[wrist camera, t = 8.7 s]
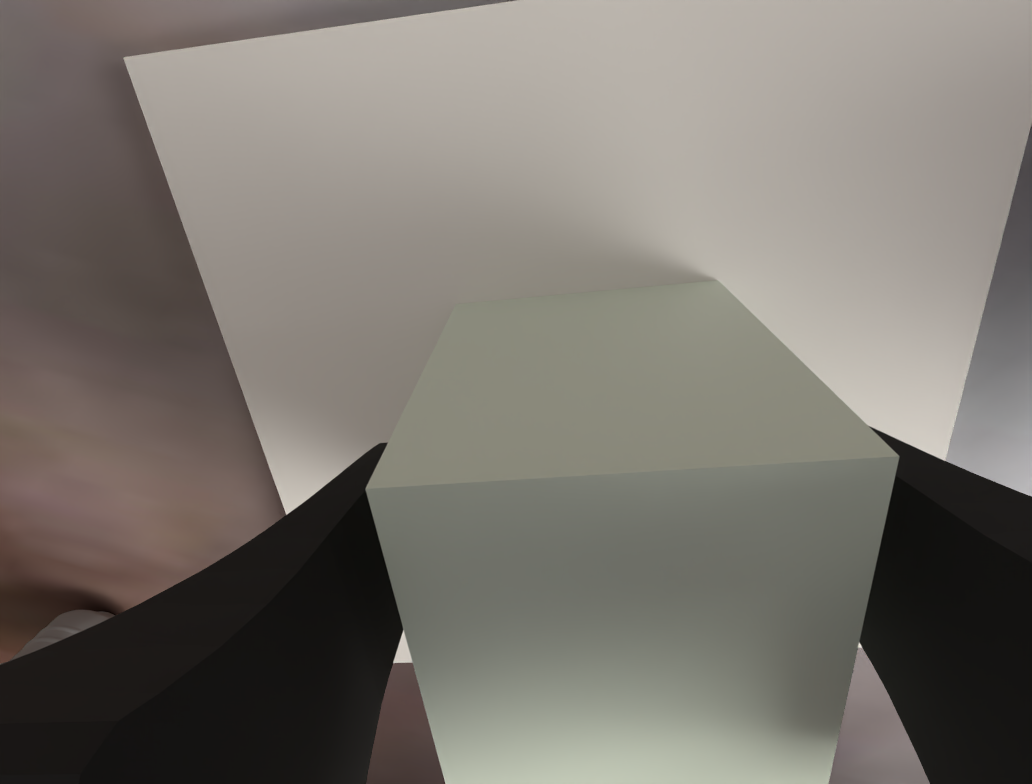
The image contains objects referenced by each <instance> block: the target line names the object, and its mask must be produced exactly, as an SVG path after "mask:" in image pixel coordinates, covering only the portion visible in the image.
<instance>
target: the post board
mask: <svg viewBox="0 0 1032 784" xmlns="http://www.w3.org/2000/svg"><path fill="white" fill-rule="evenodd" d="M123 59H124V61H125V64H126V67H127V70H128V73H129V75H130V78H131V81H132V84H133V87H134V89H135V92H136V95H137V98H138V101H139V103H140V106H141V109H142V112H143V115H144V117H145V120H146V123H147V126H148V129H149V131H150V134H151V137H152V140H153V143H154V145H155V148H156V151H157V154H158V157H159V159H160V162H161V165H162V168H163V171H164V173H165V176H166V179H167V182H168V185H169V187H170V190H171V193H172V196H173V199H174V201H175V204H176V207H177V210H178V213H179V215H180V218H181V221H182V224H183V227H184V229H185V232H186V235H187V238H188V241H189V243H190V246H191V249H192V252H193V255H194V258H195V260H196V263H197V266H198V269H199V272H200V274H201V277H202V280H203V283H204V286H205V288H206V291H207V294H208V297H209V300H210V302H211V305H212V308H213V311H214V314H215V316H216V319H217V322H218V325H219V328H220V330H221V333H222V336H223V339H224V342H225V344H226V347H227V350H228V353H229V356H230V358H231V361H232V364H233V367H234V370H235V372H236V375H237V378H238V381H239V384H240V386H241V389H242V392H243V395H244V398H245V400H246V403H247V406H248V409H249V412H250V414H251V417H252V420H253V423H254V426H255V428H256V431H257V434H258V437H259V440H260V442H261V445H262V448H263V451H264V454H265V456H266V459H267V462H268V465H269V468H270V470H271V473H272V476H273V479H274V482H275V484H276V487H277V490H278V493H279V496H280V499H281V501H282V504H283V507H284V510H285V513H286V515H287V514H288V513H290V512H291V511H293V510H294V509H295V508H297V507H298V506H299V505H301V504H302V503H303V502H305V501H306V500H307V499H309V498H310V497H311V496H313V495H314V494H315V493H316V492H318V491H319V490H320V489H321V488H323V487H324V486H325V485H326V484H328V483H329V482H330V481H331V480H333V479H334V478H335V477H336V476H338V475H339V474H340V473H341V472H342V471H344V470H345V469H346V468H347V467H349V466H350V465H351V464H352V463H354V462H355V461H356V460H357V459H359V458H360V457H361V456H362V455H364V454H365V453H366V452H368V451H369V450H370V449H372V448H373V447H375V446H376V445H378V444H379V443H387V442H389V440H390V438H391V436H392V434H393V431H394V429H395V427H396V425H397V423H398V421H399V419H400V417H401V415H402V413H403V411H404V409H405V407H406V405H407V403H408V401H409V399H410V397H411V395H412V393H413V391H414V389H415V387H416V385H417V383H418V380H419V378H420V376H421V374H422V372H423V370H424V368H425V366H426V364H427V362H428V360H429V358H430V356H431V354H432V352H433V350H434V348H435V346H436V344H437V342H438V340H439V338H440V336H441V334H442V331H443V329H444V327H445V325H446V323H447V321H448V319H449V317H450V315H451V313H452V311H453V309H454V307H455V305H456V304H462V303H473V302H484V301H495V300H506V299H517V298H528V297H539V296H550V295H561V294H572V293H583V292H594V291H605V290H615V289H626V288H637V287H648V286H659V285H670V284H681V283H692V282H703V281H714V280H718V281H719V282H720V283H721V284H722V285H724V286H725V287H726V288H727V289H728V290H729V291H730V292H731V293H732V294H733V295H734V296H735V297H736V298H737V299H738V300H739V301H740V302H741V303H742V304H743V305H744V306H745V307H746V308H747V309H748V310H749V311H750V312H751V313H752V314H753V315H754V316H755V317H757V318H758V319H759V320H760V321H761V322H762V323H763V324H764V325H765V326H766V327H767V328H768V329H769V330H770V331H771V332H772V333H773V334H774V335H775V336H776V337H777V338H778V339H779V340H780V341H781V342H782V343H783V344H784V345H785V346H786V347H787V348H788V349H789V350H791V351H792V352H793V353H794V354H795V355H796V356H797V357H798V358H799V359H800V360H801V361H802V362H803V363H804V364H805V365H806V366H807V367H808V368H809V369H810V370H811V371H812V372H813V373H814V374H815V375H816V376H817V377H818V378H819V379H820V380H821V381H822V382H823V383H825V384H826V385H827V386H828V387H829V388H830V389H831V390H832V391H833V392H834V393H835V394H836V395H837V396H838V397H839V398H840V399H841V400H842V401H843V402H844V403H845V404H846V405H847V406H848V407H849V408H850V409H851V410H852V411H853V412H854V413H855V414H856V415H858V416H859V417H860V418H861V419H862V420H863V421H864V422H865V423H866V424H867V425H868V426H870V427H872V428H875V429H877V430H879V431H881V432H883V433H885V434H888V435H890V436H892V437H894V438H896V439H898V440H900V441H903V442H905V443H907V444H909V445H911V446H913V447H916V448H918V449H920V450H922V451H924V452H926V453H929V454H931V455H933V456H935V457H937V458H940V459H942V460H944V461H945V459H946V456H947V452H948V448H949V444H950V440H951V436H952V432H953V428H954V424H955V420H956V417H957V413H958V409H959V405H960V401H961V397H962V393H963V389H964V385H965V381H966V378H967V374H968V370H969V366H970V362H971V358H972V354H973V350H974V346H975V342H976V339H977V335H978V331H979V327H980V323H981V319H982V315H983V311H984V307H985V303H986V300H987V296H988V292H989V288H990V284H991V280H992V276H993V272H994V268H995V264H996V261H997V257H998V253H999V249H1000V245H1001V241H1002V237H1003V233H1004V229H1005V225H1006V222H1007V218H1008V214H1009V210H1010V206H1011V202H1012V198H1013V194H1014V190H1015V186H1016V182H1017V179H1018V175H1019V171H1020V167H1021V163H1022V159H1023V155H1024V151H1025V147H1026V143H1027V140H1028V136H1029V132H1030V128H1031V124H1032V0H517V1H510V2H503V3H496V4H489V5H482V6H475V7H468V8H461V9H454V10H447V11H440V12H433V13H426V14H419V15H412V16H406V17H399V18H392V19H385V20H378V21H371V22H364V23H357V24H350V25H343V26H336V27H329V28H322V29H315V30H308V31H301V32H294V33H288V34H281V35H274V36H267V37H260V38H253V39H246V40H239V41H232V42H225V43H218V44H211V45H204V46H197V47H190V48H183V49H176V50H170V51H163V52H156V53H149V54H142V55H135V56H128V57H123ZM861 647H862V646H861V644H860V643H859V645H858V648H861ZM408 662H412V659H411V655H410V651H409V648H408V644H407V640H406V637H405V633H404V630H403V633H402V636H401V639H400V643H399V646H398V649H397V652H396V655H395V659H394V662H393V663H408Z"/></svg>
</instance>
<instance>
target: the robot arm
mask: <svg viewBox="0 0 1032 784" xmlns="http://www.w3.org/2000/svg"><path fill="white" fill-rule="evenodd" d="M869 427H870V426H869ZM870 428H871V429H872V430H873V431H874V432H875V433H876V434H877V435H878V436H879V437H880V438H881V439H882V440H883V441H884V442H885V443H886V444H887V445H888V446H889V447H890V448H892V449H893V450H894V451H895V452H896V453H897V454H898V455H899V461H898V466H897V470H896V475H895V479H894V484H893V489H892V493H891V498H890V502H889V507H888V512H887V516H886V521H885V525H884V530H883V535H882V539H881V544H880V548H879V553H878V558H877V562H876V567H875V571H874V576H873V581H872V585H871V590H870V594H869V599H868V604H867V608H866V613H865V617H864V622H863V627H862V631H861V636H860V640H859V643H860V644H861V646H862V648H863V649H864V651H865V653H866V654H867V656H868V658H869V659H870V661H871V663H872V664H873V666H874V668H875V670H876V672H877V673H878V675H879V677H880V679H881V681H882V683H883V684H884V686H885V688H886V690H887V692H888V694H889V696H890V698H891V700H892V702H893V704H894V707H895V709H896V711H897V713H898V715H899V717H900V719H901V721H902V723H903V726H904V728H905V730H906V732H907V734H908V736H909V738H910V740H911V742H912V744H913V747H914V749H915V751H916V753H917V755H918V757H919V760H920V762H921V764H922V766H923V769H924V771H925V773H926V775H927V778H928V780H929V782H930V784H1032V497H1031V496H1028V495H1026V494H1023V493H1020V492H1018V491H1015V490H1013V489H1011V488H1008V487H1006V486H1003V485H1001V484H998V483H996V482H993V481H991V480H988V479H986V478H984V477H981V476H979V475H976V474H974V473H972V472H969V471H967V470H965V469H962V468H960V467H958V466H955V465H953V464H951V463H949V462H946V461H944V460H942V459H940V458H937V457H935V456H933V455H931V454H929V453H926V452H924V451H922V450H920V449H918V448H916V447H913V446H911V445H909V444H907V443H905V442H903V441H900V440H898V439H896V438H894V437H892V436H890V435H888V434H885V433H883V432H881V431H879V430H877V429H875V428H872V427H870ZM387 444H388V442H387V443H379V444H378V445H376V446H375V447H373V448H372V449H370V450H369V451H368V452H366V453H365V454H364V455H362V456H361V457H360V458H359V459H357V460H356V461H355V462H354V463H352V464H351V465H350V466H349V467H347V468H346V469H345V470H344V471H342V472H341V473H340V474H339V475H338V476H336V477H335V478H334V479H333V480H331V481H330V482H329V483H328V484H326V485H325V486H324V487H323V488H321V489H320V490H319V491H318V492H316V493H315V494H314V495H313V496H311V497H310V498H309V499H307V500H306V501H305V502H303V503H302V504H301V505H299V506H298V507H297V508H295V509H294V510H293V511H291V512H290V513H288V514H287V515H286V516H284V517H283V518H282V519H280V520H279V521H278V522H276V523H275V524H274V525H272V526H271V527H269V528H268V529H267V530H265V531H264V532H262V533H261V534H259V535H258V536H257V537H255V538H254V539H252V540H251V541H249V542H248V543H246V544H244V545H243V546H241V547H240V548H238V549H237V550H235V551H233V552H232V553H230V554H229V555H227V556H225V557H224V558H222V559H220V560H219V561H217V562H216V563H214V564H212V565H211V566H209V567H207V568H206V569H204V570H202V571H200V572H199V573H197V574H195V575H193V576H191V577H189V578H187V579H186V580H184V581H182V582H180V583H178V584H176V585H174V586H172V587H171V588H169V589H167V590H165V591H163V592H161V593H159V594H157V595H156V596H154V597H152V598H150V599H148V600H146V601H144V602H142V603H141V604H139V605H137V606H135V607H133V608H130V609H128V610H126V611H124V612H122V613H120V614H118V615H116V616H114V617H111V618H109V619H107V620H105V621H103V622H101V623H99V624H97V625H94V626H92V627H90V628H88V629H85V630H83V631H81V632H79V633H76V634H74V635H72V636H70V637H67V638H65V639H63V640H60V641H58V642H56V643H53V644H51V645H49V646H46V647H44V648H41V649H39V650H37V651H34V652H32V653H29V654H27V655H24V656H21V657H19V658H16V659H14V660H11V661H8V662H6V663H3V664H1V665H0V784H366V780H367V774H368V769H369V763H370V758H371V753H372V748H373V743H374V738H375V734H376V729H377V724H378V719H379V714H380V709H381V704H382V700H383V697H384V693H385V689H386V685H387V682H388V678H389V675H390V671H391V668H392V665H393V662H394V659H395V655H396V652H397V649H398V646H399V643H400V639H401V636H402V633H403V630H404V629H403V626H402V622H401V618H400V615H399V611H398V607H397V603H396V600H395V596H394V592H393V589H392V585H391V581H390V578H389V574H388V570H387V567H386V563H385V559H384V556H383V552H382V548H381V545H380V541H379V537H378V534H377V530H376V526H375V523H374V519H373V515H372V511H371V508H370V504H369V500H368V497H367V493H366V487H367V485H368V483H369V480H370V478H371V476H372V474H373V472H374V470H375V468H376V466H377V464H378V462H379V460H380V458H381V456H382V454H383V452H384V450H385V448H386V446H387Z"/></svg>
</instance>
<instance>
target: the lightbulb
mask: <svg viewBox="0 0 1032 784" xmlns="http://www.w3.org/2000/svg"><path fill="white" fill-rule="evenodd" d="M114 616H115V615H113V614H111V613H108V612H104V611H99V612H96V611H91V610H73V611H69V612H65V613H62V614H61V615H59V616H57V617H56V618H55V619H54V620H53V621H52V622H51V623H50V624H49V625H48V626H46V627H45V628H44V629H42V630H41V631H40V632H39V633H38V634H37V635H36V637H35V638H33V639H32V640H30V641H29V642H28V643H27V644H26V645H25V646H24V647H23V649H22V650H21V651H19V652H18V653H17V654H16V655H15V656H14V657H13V658H12V659H11V660H14V659H16V658H19V657H21V656H24V655H27V654H29V653H32V652H34V651H37V650H39V649H41V648H44V647H46V646H49V645H51V644H53V643H56V642H58V641H60V640H63V639H65V638H67V637H70V636H72V635H74V634H76V633H79V632H81V631H83V630H85V629H88V628H90V627H92V626H94V625H97V624H99V623H101V622H103V621H105V620H107V619H109V618H111V617H114ZM11 660H10V661H11ZM4 663H6V662H4ZM1 664H3V663H1ZM1 664H0V665H1Z"/></svg>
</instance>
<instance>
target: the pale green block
mask: <svg viewBox="0 0 1032 784" xmlns="http://www.w3.org/2000/svg"><path fill="white" fill-rule="evenodd" d="M898 461H899V455H898V454H897V453H896V452H895V451H894V450H893V449H892V448H890V447H889V446H888V445H887V444H886V443H885V442H884V441H883V440H882V439H881V438H880V437H879V436H878V435H877V434H876V433H875V432H874V431H873V430H872V429H871V428H870V427H869V426H868V425H867V424H866V423H865V422H864V421H863V420H862V419H861V418H860V417H859V416H858V415H856V414H855V413H854V412H853V411H852V410H851V409H850V408H849V407H848V406H847V405H846V404H845V403H844V402H843V401H842V400H841V399H840V398H839V397H838V396H837V395H836V394H835V393H834V392H833V391H832V390H831V389H830V388H829V387H828V386H827V385H826V384H825V383H823V382H822V381H821V380H820V379H819V378H818V377H817V376H816V375H815V374H814V373H813V372H812V371H811V370H810V369H809V368H808V367H807V366H806V365H805V364H804V363H803V362H802V361H801V360H800V359H799V358H798V357H797V356H796V355H795V354H794V353H793V352H792V351H791V350H789V349H788V348H787V347H786V346H785V345H784V344H783V343H782V342H781V341H780V340H779V339H778V338H777V337H776V336H775V335H774V334H773V333H772V332H771V331H770V330H769V329H768V328H767V327H766V326H765V325H764V324H763V323H762V322H761V321H760V320H759V319H758V318H757V317H755V316H754V315H753V314H752V313H751V312H750V311H749V310H748V309H747V308H746V307H745V306H744V305H743V304H742V303H741V302H740V301H739V300H738V299H737V298H736V297H735V296H734V295H733V294H732V293H731V292H730V291H729V290H728V289H727V288H726V287H725V286H724V285H722V284H721V283H720V282H719V281H718V280H714V281H703V282H692V283H681V284H670V285H659V286H648V287H637V288H626V289H615V290H605V291H594V292H583V293H572V294H561V295H550V296H539V297H528V298H517V299H506V300H495V301H484V302H473V303H462V304H456V305H455V307H454V309H453V311H452V313H451V315H450V317H449V319H448V321H447V323H446V325H445V327H444V329H443V331H442V334H441V336H440V338H439V340H438V342H437V344H436V346H435V348H434V350H433V352H432V354H431V356H430V358H429V360H428V362H427V364H426V366H425V368H424V370H423V372H422V374H421V376H420V378H419V380H418V383H417V385H416V387H415V389H414V391H413V393H412V395H411V397H410V399H409V401H408V403H407V405H406V407H405V409H404V411H403V413H402V415H401V417H400V419H399V421H398V423H397V425H396V427H395V429H394V431H393V434H392V436H391V438H390V440H389V442H388V444H387V446H386V448H385V450H384V452H383V454H382V456H381V458H380V460H379V462H378V464H377V466H376V468H375V470H374V472H373V474H372V476H371V478H370V480H369V483H368V485H367V487H366V493H367V497H368V500H369V504H370V508H371V511H372V515H373V519H374V523H375V526H376V530H377V534H378V537H379V541H380V545H381V548H382V552H383V556H384V559H385V563H386V567H387V570H388V574H389V578H390V581H391V585H392V589H393V592H394V596H395V600H396V603H397V607H398V611H399V615H400V618H401V622H402V626H403V629H404V633H405V637H406V640H407V644H408V648H409V651H410V655H411V659H412V662H413V666H414V670H415V673H416V677H417V681H418V684H419V688H420V692H421V695H422V699H423V703H424V707H425V710H426V714H427V718H428V721H429V725H430V729H431V732H432V736H433V740H434V743H435V747H436V751H437V754H438V758H439V762H440V765H441V769H442V773H443V776H444V780H445V784H828V783H829V778H830V774H831V769H832V764H833V760H834V755H835V751H836V746H837V741H838V737H839V732H840V728H841V723H842V718H843V714H844V709H845V705H846V700H847V696H848V691H849V686H850V682H851V677H852V673H853V668H854V663H855V659H856V654H857V650H858V645H859V640H860V636H861V631H862V627H863V622H864V617H865V613H866V608H867V604H868V599H869V594H870V590H871V585H872V581H873V576H874V571H875V567H876V562H877V558H878V553H879V548H880V544H881V539H882V535H883V530H884V525H885V521H886V516H887V512H888V507H889V502H890V498H891V493H892V489H893V484H894V479H895V475H896V470H897V466H898Z"/></svg>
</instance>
